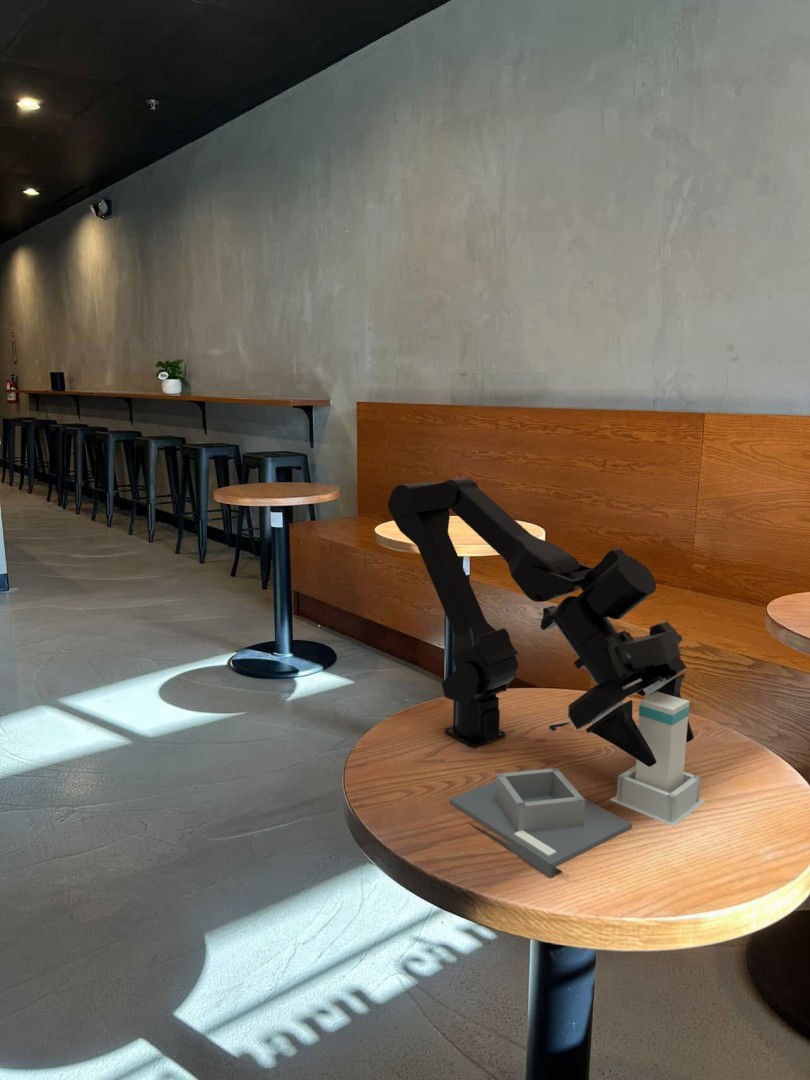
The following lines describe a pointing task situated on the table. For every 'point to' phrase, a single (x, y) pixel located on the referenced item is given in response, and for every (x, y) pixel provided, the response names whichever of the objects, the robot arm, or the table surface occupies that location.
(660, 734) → the plug
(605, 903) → the table surface
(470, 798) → the port panel
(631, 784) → the holster
